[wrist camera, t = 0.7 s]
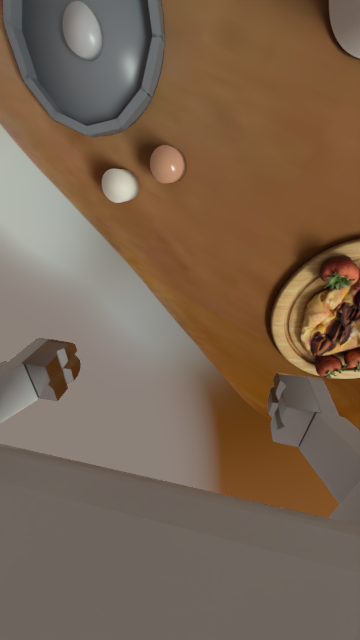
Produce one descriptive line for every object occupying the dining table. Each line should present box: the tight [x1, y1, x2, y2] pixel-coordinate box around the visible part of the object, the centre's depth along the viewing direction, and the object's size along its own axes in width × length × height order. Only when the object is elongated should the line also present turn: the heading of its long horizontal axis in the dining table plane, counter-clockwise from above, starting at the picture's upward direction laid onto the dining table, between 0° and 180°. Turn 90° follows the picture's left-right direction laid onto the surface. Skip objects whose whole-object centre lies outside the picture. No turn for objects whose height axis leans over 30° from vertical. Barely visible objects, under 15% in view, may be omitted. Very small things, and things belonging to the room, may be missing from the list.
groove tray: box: [3, 0, 165, 137], centre depth 33 cm, size 22×22×3 cm
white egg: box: [102, 169, 140, 203], centre depth 42 cm, size 5×5×5 cm
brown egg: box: [150, 145, 187, 183], centre depth 39 cm, size 5×5×5 cm
